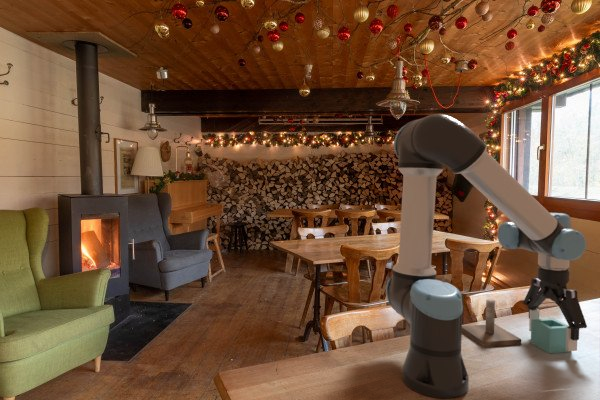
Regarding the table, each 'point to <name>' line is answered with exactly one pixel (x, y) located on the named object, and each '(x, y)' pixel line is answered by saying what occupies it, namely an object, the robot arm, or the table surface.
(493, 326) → the stand
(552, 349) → the teal open box
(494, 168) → the robot arm
